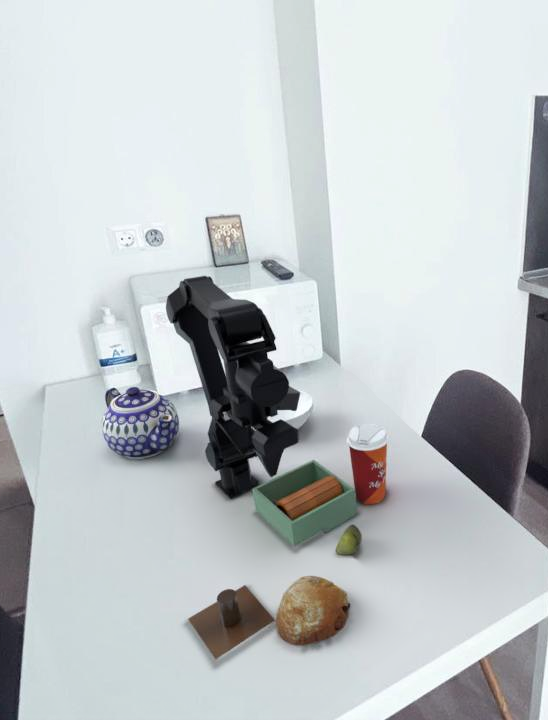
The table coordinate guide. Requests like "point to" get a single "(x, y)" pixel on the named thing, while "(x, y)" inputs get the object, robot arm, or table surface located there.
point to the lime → (349, 541)
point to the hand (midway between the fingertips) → (258, 464)
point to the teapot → (139, 422)
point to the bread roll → (311, 611)
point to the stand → (230, 620)
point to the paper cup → (368, 461)
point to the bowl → (296, 412)
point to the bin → (313, 520)
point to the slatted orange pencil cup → (310, 497)
